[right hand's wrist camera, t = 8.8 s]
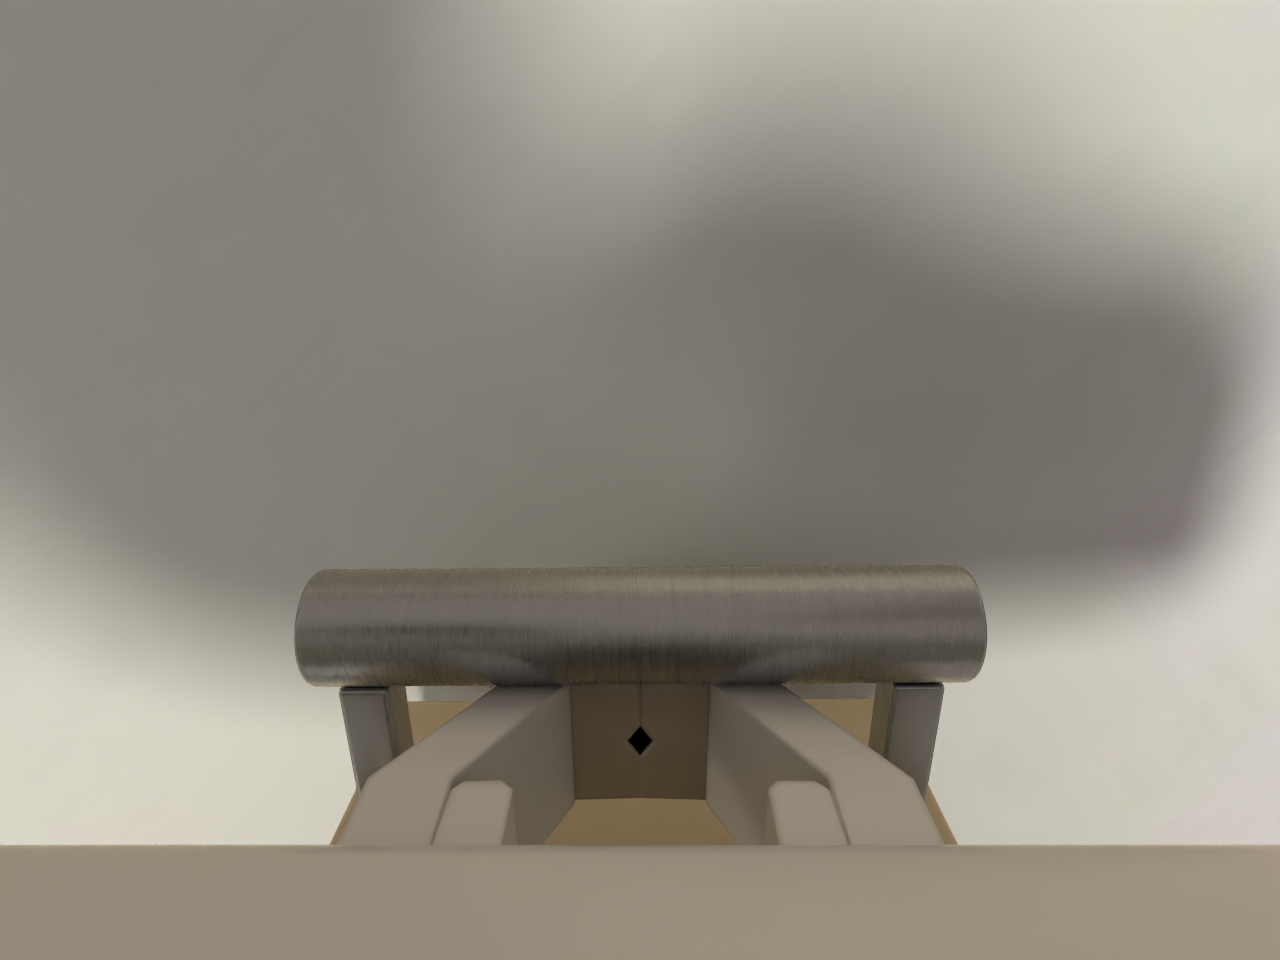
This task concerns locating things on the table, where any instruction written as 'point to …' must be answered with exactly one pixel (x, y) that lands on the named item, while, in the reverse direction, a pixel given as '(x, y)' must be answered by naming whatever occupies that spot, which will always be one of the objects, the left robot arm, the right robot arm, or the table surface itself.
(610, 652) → the drawer
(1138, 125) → the table surface
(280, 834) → the table surface
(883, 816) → the right robot arm
